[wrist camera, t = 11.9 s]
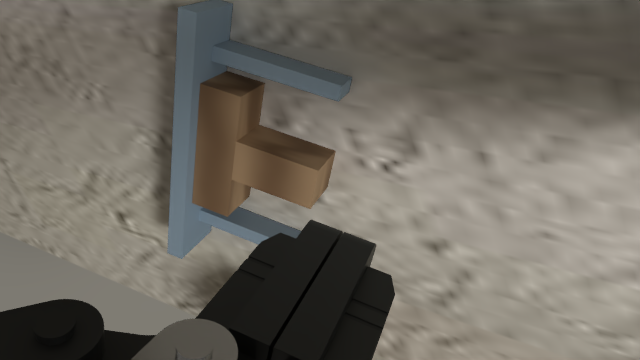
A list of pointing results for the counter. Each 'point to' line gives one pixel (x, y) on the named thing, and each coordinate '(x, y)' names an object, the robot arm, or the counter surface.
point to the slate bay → (192, 69)
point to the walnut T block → (250, 151)
